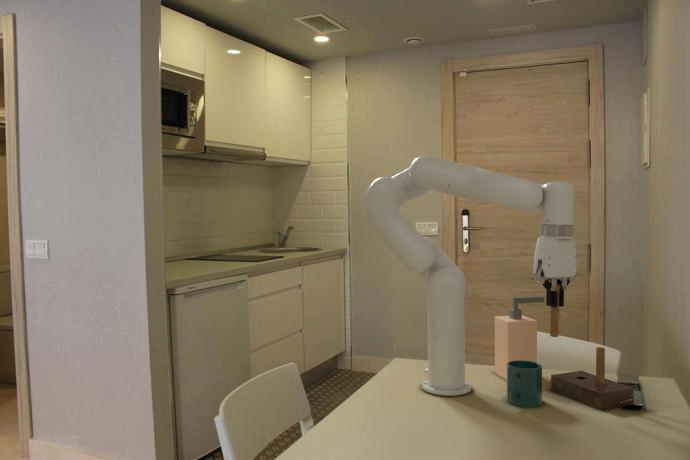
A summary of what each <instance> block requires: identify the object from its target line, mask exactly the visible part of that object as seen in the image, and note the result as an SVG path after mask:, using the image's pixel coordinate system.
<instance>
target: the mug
mask: <svg viewBox="0 0 690 460" xmlns="http://www.w3.org/2000/svg"><path fill="white" fill-rule="evenodd" d="M506 402H507V403H509V404H511V405H513V406H516V407H521V408H535V407H539V406H541V405H542V404H543V365H542V364H541V363H539V362H537V363H536V362H532V361H524V360H516V361H510V362H508V363H507V380H506Z"/></svg>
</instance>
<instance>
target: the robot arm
mask: <svg viewBox="0 0 690 460" xmlns="http://www.w3.org/2000/svg"><path fill="white" fill-rule="evenodd" d="M430 191H432V192H436V193H442V194H445V195H449V196H453V197H457V198H460V199H463V200H464V199H465V200H468V201H469V200H470V201H478V202H479V201H480V202H485V203H489V204H493V205H498V206H502V207H507V208H510V209H514V210H517V211H520V212H532V211H540V212H541V213H540V237H537V240H536V244H535V249H534V254H533V255H534V257H533V267H532V268H533V270H532V271H533V272H532V273H533V275H534V276H535V279H534V280H535V282H536V283H539V284H541V285H542V287H543V289H544V290H545V291H546V292H545V293H546V294H545V295H546V297H545V305H546V306H547V307H550V308H551V307H557V295H558V292H557V291H555V290H556V284H558V285H560V292H559V308H560V307H561V308H562V307H564V306H565V291H567V289H568V288H567V287H568V286H569V284H570V283H572V282H575V280H576V274H577V248H576V247H577V246H576V241H575V237H574V233H575V232H576V229H575V227H574V216H575V215H574V212H575V211H574V210H575V187H574V184H573V183H571V182H567V181H549V182H545V183H538V182H535V181H534V180H530V179H526V178H523V177H518V176H513V175H510V174H504V173H500V172H496V171H493V170H488V169H484V168H481V167H478V166H474V165H469V164H466V163H461V162H456V161H453V160H448V159H445V158H440V157H436V156H431V155H420V156H418V157H416V158H414V160H413V161H412V162H411V164H410V166H409V167H408V168H406V169H405V170H403V171H401V172H399V173H397V174H395V175H394V176H391V177H390V176H381V177H378V178H376V179H374V180H373V181H372V182H371V183H370V185H369V187H368V188H367V190H366V193H365V197H364V203H363V204H364V205H363V206H364V207H363V208H364V213H365V217H366V220H367V222H368V224H369V225H370V227H371V228H372V230H373V231H374V233H375V234H376V235H377V236H378V237H379V238H380V240H382V242H383V243H384V244H385V245H386V247H387V248H388V249H389V250H390V251H391V252H392V254H393V255H395V257H396V258H397V259H398V260H399V262H401V264H402V265H403V266H404V268H406V269H407V270H408V271H409V272H411V273H415V274H417V275H419V277H420V278H421V279H422V280H423V281H424V282H425V283H426V291H425V292H426V293H425V294H426V309H427V310H426V313H427V367H426V368H425V369H424V373H425V374H427V379H425V380H424V381H422V383H421V388H422V390H423V391H425V392H427V393H428V394H429V393H430V394H432V395H437V396H444V397H445V396H446V397H448V396H449V397H452V396H453V397H455V396H462V395H465V394H468V393H470V392H471V391H472V385H471V383H470V382H468V381H466V325H465V324H466V321H465V319H466V316H465V315H466V314H465V313H466V312H465V310H466V309H465V307H466V306H465V295H466V294H465V293H466V287H467V279H466V276H465V273H464V272H463V271H462V270H461V268H460V267H459V266H458V265H457V264H456V262H454V260H452V259H451V258H450V256H448V254H447V253H446V252H445V251H444V250H443V249H442V248H441V246H439V245H438V243H436V242H435V241H434V240H433V239H432V238H430V237H428V236H424V235H421V233H419V231H418V230H417V229H416V228H415V227H414V226H413V225H412V224H411V223H410V221H409V220H408V219H407V218H406V217H405V216H404V215H403V214H402V213H401V212H400V210H399V208H401V207H403V206H404V205H406V204H408V203H410V202H411V201H413V200H415V199H417V198H419V197H421V196H423V195H425V194H426V193H428V192H430Z"/></svg>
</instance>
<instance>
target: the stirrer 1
mask: <svg viewBox="0 0 690 460" xmlns="http://www.w3.org/2000/svg"><path fill="white" fill-rule="evenodd" d="M555 291H557V292H558V295H557V307H551V306H550V324H549V325H550V327H549V336H550V337H553V338H558V337H559V324H560V323H559V321H560V306H559V292H560V285H558V284H556V290H555Z"/></svg>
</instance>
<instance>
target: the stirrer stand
mask: <svg viewBox="0 0 690 460" xmlns="http://www.w3.org/2000/svg"><path fill="white" fill-rule="evenodd" d="M550 391H552V392H554V393H557V394H559V395H562V396H564V397H567V398H569V399H572V400H574V401H577V402H579V403H581V404H584V405H587V406H589V407H591V408H594V409H597V410H599V411H605V410H611V409H615V408H621V407H627V406H631V405H634V387H632V386H628V385H626V384H623V383H620V382H617V381H614V380H611V379H608V378H605V386H601V387H600V386H598V385H596V374H593V373H590V372H587V371H584V370H576V371H569V372H562V373H556V374H551V375H550ZM629 399H633V401H627V402H623V401H626V400H629ZM621 402H622V403H621Z"/></svg>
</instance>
